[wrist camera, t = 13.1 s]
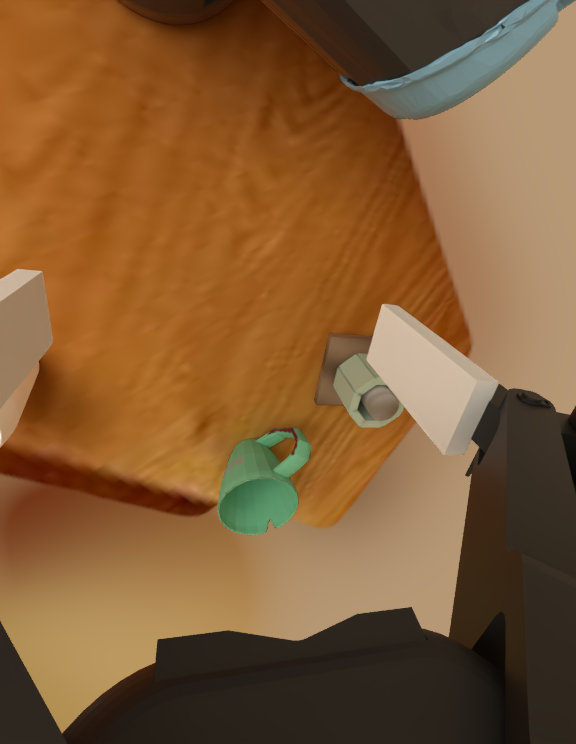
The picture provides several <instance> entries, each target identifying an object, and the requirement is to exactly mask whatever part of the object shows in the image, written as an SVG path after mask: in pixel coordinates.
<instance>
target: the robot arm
mask: <svg viewBox="0 0 576 744" xmlns="http://www.w3.org/2000/svg"><path fill="white" fill-rule="evenodd" d="M118 1H119V2H121V3H122V4H123V5H125V6H126V7H128V8H129V9H131V10H133V11H134V12H136V13H138V14H140V15H142V16H144V17H146V18H149V19H151V20H155V21H158V22H162V23H166V24H174V25H185V24H193V23H197V22H201V21H204V20H206V19H209V18H211V17H213V16H215V15H216V14H218V13H219V12H221V11H222V10H224V9H225V8H226V7H227V6H228V5H229V4H230V3H231V2H232V1H233V0H118ZM260 1H261V2H262V3H263V4H264V5H265V6H266V7H267V8H269V9H270V10H271V11H272V12H273V13H274V14H275V15H276V16H277V17H278V18H279V19H280V20H281V21H283V22H284V23H285V24H286V25H287V26H288V27H289V28H290V29H291V30H292V31H293V32H294V33H295V34H296V35H298V36H299V37H300V38H301V39H302V40H303V41H304V42H305V43H306V44H307V45H308V46H309V47H310V48H312V49H313V50H314V51H315V52H316V53H317V54H318V55H319V56H320V57H321V58H322V59H323V60H324V61H326V62H327V63H328V64H329V65H330V66H331V67H332V68H333V69H334V70H335V71H336V72H337V73H338V74H339V76H340V80H341V81H342V82H343V83H344V84H345V85H346V86H347V87H349V88H350V89H352V90H355V91H358V92H361V93H362V94H363V95H364V96H366V97H367V98H368V99H369V100H370V101H372V102H373V103H374V104H375V105H376V106H378V107H379V108H380V109H381V110H382V111H384V112H385V113H386V114H388V115H390V116H392V117H394V118H397V119H414V120H417V119H423V118H427V117H430V116H434V115H437V114H439V113H441V112H444V111H446V110H448V109H450V108H452V107H454V106H456V105H458V104H460V103H462V102H463V101H465V100H466V99H468V98H470V97H471V96H473V95H474V94H476V93H478V92H479V91H480V90H482V89H483V88H485V87H486V86H488V85H489V84H490V83H492V82H493V81H495V80H496V79H497V78H498V77H500V76H501V75H502V74H503V73H505V72H506V71H507V70H508V69H510V68H511V67H512V66H513V65H515V64H516V63H517V62H518V61H519V60H520V59H521V58H522V57H524V56H525V55H526V54H527V53H528V52H529V51H530V50H531V49H532V48H533V47H534V46H535V45H536V44H537V43H538V42H539V41H540V40H541V39H542V38H543V37H544V36H545V35H546V34H547V33H548V32H549V31H550V30H551V29H552V28H553V27H554V26H555V24H556V23H557V19H558V13H559V12H560V11H561V10H562V9H564V8H565V7H567V6H568V5H570V4H571V3H572V2H574V1H575V0H260ZM52 344H53V337H52V330H51V324H50V317H49V310H48V303H47V297H46V290H45V283H44V277H43V271H34V270H24V269H17V270H15V271H13V272H12V273H10V274H8V275H7V276H5V277H3V278H2V279H0V409H1V407H2V406H3V405H4V404H5V402H6V401H7V400H8V399H9V397H10V396H11V395H12V394H13V392H14V391H15V390H16V389H17V388H18V386H19V385H20V384H21V383H22V381H23V380H24V379H25V378H26V376H27V375H28V374H29V373H30V371H31V370H32V369H33V368H34V366H35V365H36V364H37V363H38V361H39V360H40V359H41V358H42V356H43V355H44V354H45V353H46V351H47V350H48V349H49V348H50V346H51V345H52ZM366 360H367V361H368V363H369V364H370V365H371V366H372V368H373V369H374V370H375V371H376V373H377V374H378V375H379V376H380V377H381V379H382V380H383V381H384V382H385V384H386V385H387V386H388V387H389V389H390V390H391V391H392V392H393V393H394V395H395V396H396V397H397V398H398V400H399V401H400V402H401V403H402V405H403V406H404V407H405V408H406V409H407V411H408V412H409V413H410V414H411V416H412V417H413V418H414V419H415V421H416V422H417V423H418V424H419V425H420V427H421V428H422V429H423V430H424V432H425V433H426V434H427V435H428V436H429V438H430V439H431V440H432V441H433V443H434V444H435V445H436V446H437V447H438V449H439V450H440V451H441V453H442V454H443V455H464V454H465V452H466V450H467V448H468V446H469V444H470V442H471V440H473V441H474V442H475V443H476V444H477V445H478V446H479V449H478V451H477V453H476V455H475V457H474V459H473V461H472V463H471V465H470V467H469V469H468V471H467V473H466V476H470V474H472V476H471V484H470V491H469V498H468V505H467V512H466V519H465V527H464V533H463V541H462V548H461V555H460V562H459V569H458V577H457V584H456V591H455V598H454V605H453V613H452V619H451V627H450V633H449V637H446V636H444V635H442V634H439V633H436V632H433V631H429V630H426V629H422V628H421V626H420V624H419V622H418V620H417V618H416V616H415V614H414V611H413V609H412V607H409V608H401V609H394V610H386V611H378V612H370V613H362V614H357V615H354V616H352V617H350V618H348V619H346V620H344V621H342V622H340V623H338V624H336V625H333V626H331V627H329V628H327V629H325V630H323V631H321V632H319V633H317V634H315V635H313V636H310V637H308V638H306V639H304V640H300V641H292V640H286V639H279V638H273V637H266V636H260V635H253V634H247V633H241V632H234V631H221V632H213V633H205V634H197V635H189V636H182V637H174V638H166V639H158V642H157V652H156V663H154V664H152V665H149V666H147V667H145V668H143V669H140V670H138V671H137V672H135V673H133V674H132V675H130V676H128V677H126V678H125V679H123V680H121V681H120V682H118V683H117V684H116V685H114V686H113V687H112V688H110V689H109V690H107V691H106V692H105V693H103V694H102V695H101V696H100V697H99V698H97V699H96V700H95V701H94V702H93V703H92V704H91V705H90V706H88V707H87V708H86V709H85V710H84V711H83V712H82V713H81V714H80V715H79V716H78V717H77V718H76V719H75V721H74V722H73V723H72V724H71V725H70V726H69V727H68V728H67V729H66V730H65V731H64V732H63V733H61V731H60V729H59V728H58V726H57V724H56V722H55V720H54V718H53V717H52V715H51V713H50V711H49V709H48V708H47V706H46V704H45V702H44V700H43V698H42V697H41V695H40V693H39V691H38V689H37V688H36V686H35V684H34V682H33V680H32V678H31V677H30V675H29V673H28V671H27V669H26V667H25V666H24V664H23V662H22V661H21V659H20V657H19V655H18V653H17V651H16V649H15V647H14V646H13V644H12V642H11V640H10V638H9V637H8V635H7V633H6V631H5V629H4V627H3V626H2V624H1V622H0V744H576V407H575V409H574V410H573V412H572V413H571V415H568V414H563V413H558V412H556V410H555V407H554V406H553V404H552V403H551V402H550V401H548V400H546V399H545V398H543V397H542V396H540V395H539V394H537V393H534V392H531V391H526V390H522V389H509V390H507V389H506V388H504V387H503V386H502V385H500V384H499V381H497V380H496V379H495V378H493V377H492V376H491V375H489V374H488V373H487V372H485V371H484V370H483V369H481V368H480V367H479V366H477V365H476V364H475V363H473V362H472V361H471V360H470V359H468V358H467V357H466V356H464V355H463V354H462V353H460V352H459V351H458V350H456V349H455V348H454V347H452V346H451V345H450V344H448V343H447V342H446V341H444V340H443V339H442V338H440V337H439V336H438V335H436V334H435V333H434V332H432V331H431V330H430V329H429V328H427V327H426V326H425V325H423V324H422V323H421V322H419V321H418V320H417V319H415V318H414V317H413V316H411V315H410V314H409V313H407V312H406V311H405V310H403V309H402V308H401V307H399V306H398V305H388V304H382V307H381V310H380V314H379V317H378V321H377V324H376V328H375V331H374V335H373V338H372V342H371V345H370V349H369V352H368V356H367V359H366Z"/></svg>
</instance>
